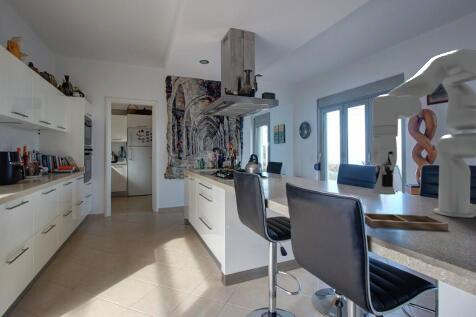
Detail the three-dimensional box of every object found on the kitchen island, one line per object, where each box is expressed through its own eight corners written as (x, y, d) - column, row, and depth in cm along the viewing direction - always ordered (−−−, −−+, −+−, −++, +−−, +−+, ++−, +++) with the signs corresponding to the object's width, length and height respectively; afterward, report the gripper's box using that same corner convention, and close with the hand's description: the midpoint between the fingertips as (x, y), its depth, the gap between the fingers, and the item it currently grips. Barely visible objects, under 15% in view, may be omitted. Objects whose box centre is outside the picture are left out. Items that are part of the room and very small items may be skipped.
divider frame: (427, 220, 93) (427, 215, 93) (448, 230, 81) (448, 223, 81) (360, 218, 96) (360, 212, 96) (371, 226, 85) (371, 220, 85)
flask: (399, 195, 85) (400, 165, 85) (375, 194, 86) (376, 164, 86) (391, 192, 92) (391, 164, 92) (369, 191, 94) (369, 163, 93)
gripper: (364, 134, 98) (364, 182, 98) (383, 130, 81) (381, 188, 81) (386, 134, 97) (385, 183, 97) (409, 129, 80) (408, 189, 80)
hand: (383, 185), depth 89 cm, fingers closed on flask, 4 cm apart
